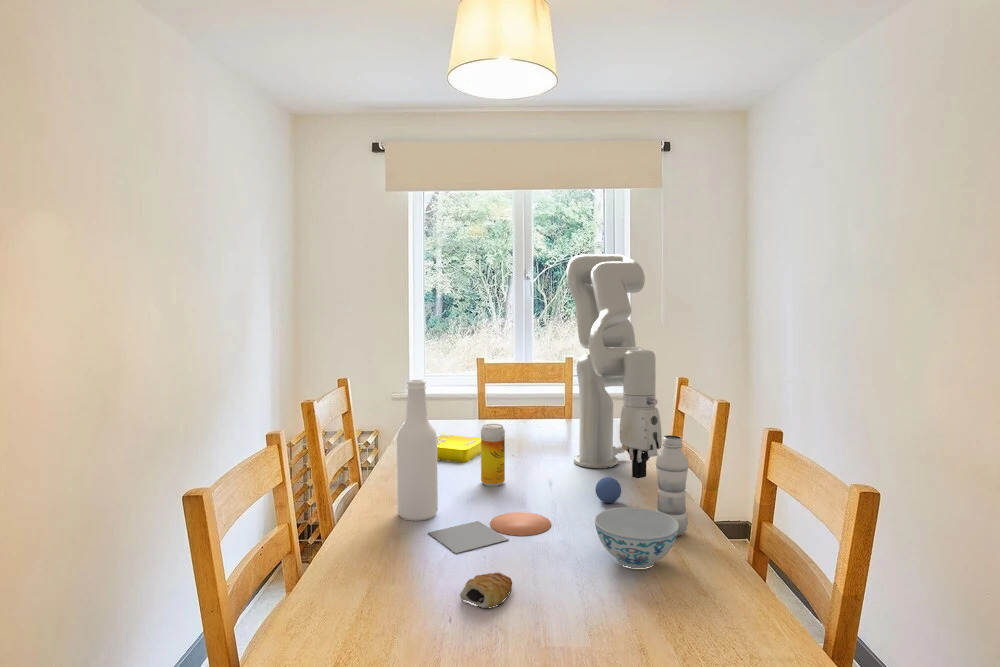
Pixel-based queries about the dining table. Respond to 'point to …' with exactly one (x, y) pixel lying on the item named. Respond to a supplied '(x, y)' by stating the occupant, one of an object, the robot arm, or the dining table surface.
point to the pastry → (487, 589)
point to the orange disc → (520, 523)
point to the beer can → (492, 454)
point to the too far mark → (467, 537)
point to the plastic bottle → (672, 481)
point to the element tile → (457, 448)
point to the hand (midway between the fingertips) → (639, 476)
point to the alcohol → (417, 459)
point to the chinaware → (636, 535)
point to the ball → (608, 489)
